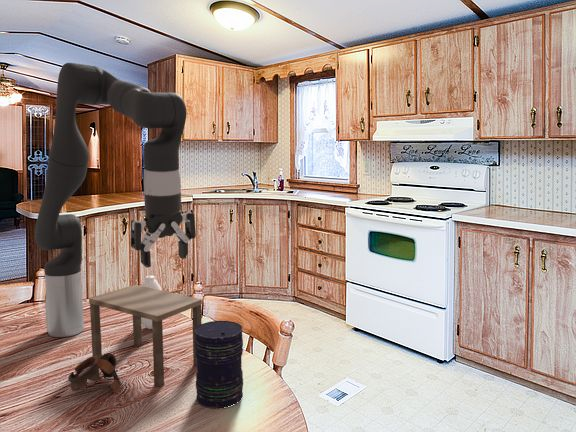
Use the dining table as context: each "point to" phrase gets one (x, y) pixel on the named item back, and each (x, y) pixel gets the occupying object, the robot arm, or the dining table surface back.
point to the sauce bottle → (153, 284)
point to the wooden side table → (146, 306)
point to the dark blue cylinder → (219, 364)
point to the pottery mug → (95, 372)
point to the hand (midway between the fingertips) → (165, 262)
